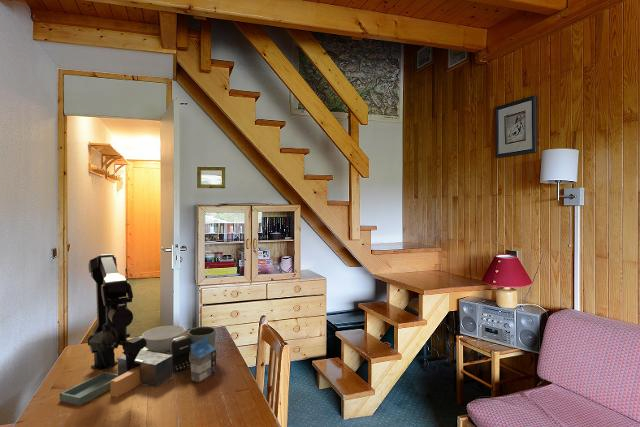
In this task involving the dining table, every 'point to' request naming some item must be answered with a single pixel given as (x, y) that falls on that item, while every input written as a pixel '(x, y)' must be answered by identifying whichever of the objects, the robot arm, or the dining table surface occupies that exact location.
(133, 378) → the orange-brown rectangular block
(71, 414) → the dining table surface
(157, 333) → the cereal bowl
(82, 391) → the tray
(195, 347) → the label tape cartridge
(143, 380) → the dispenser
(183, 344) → the battery charger
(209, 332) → the gray cylindrical cup
